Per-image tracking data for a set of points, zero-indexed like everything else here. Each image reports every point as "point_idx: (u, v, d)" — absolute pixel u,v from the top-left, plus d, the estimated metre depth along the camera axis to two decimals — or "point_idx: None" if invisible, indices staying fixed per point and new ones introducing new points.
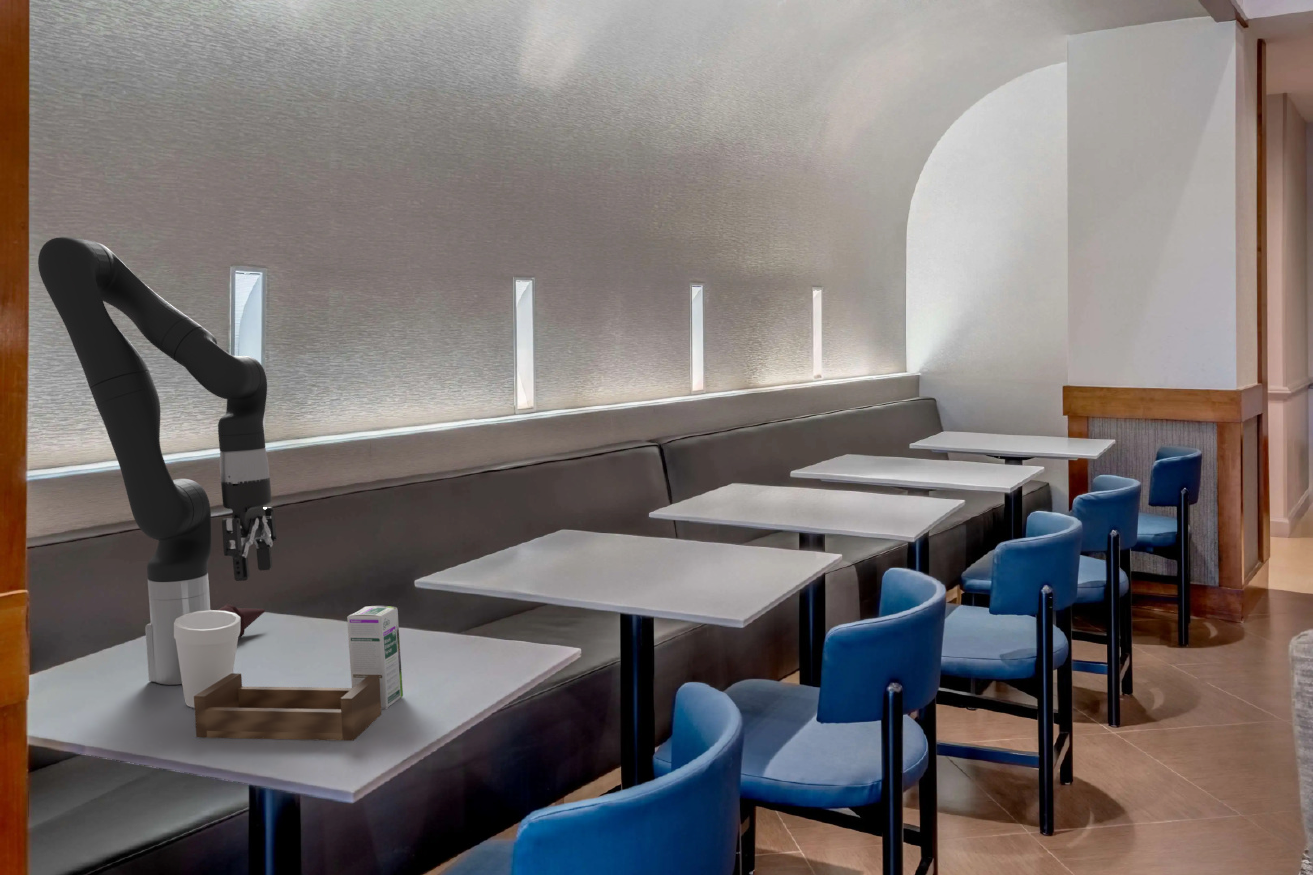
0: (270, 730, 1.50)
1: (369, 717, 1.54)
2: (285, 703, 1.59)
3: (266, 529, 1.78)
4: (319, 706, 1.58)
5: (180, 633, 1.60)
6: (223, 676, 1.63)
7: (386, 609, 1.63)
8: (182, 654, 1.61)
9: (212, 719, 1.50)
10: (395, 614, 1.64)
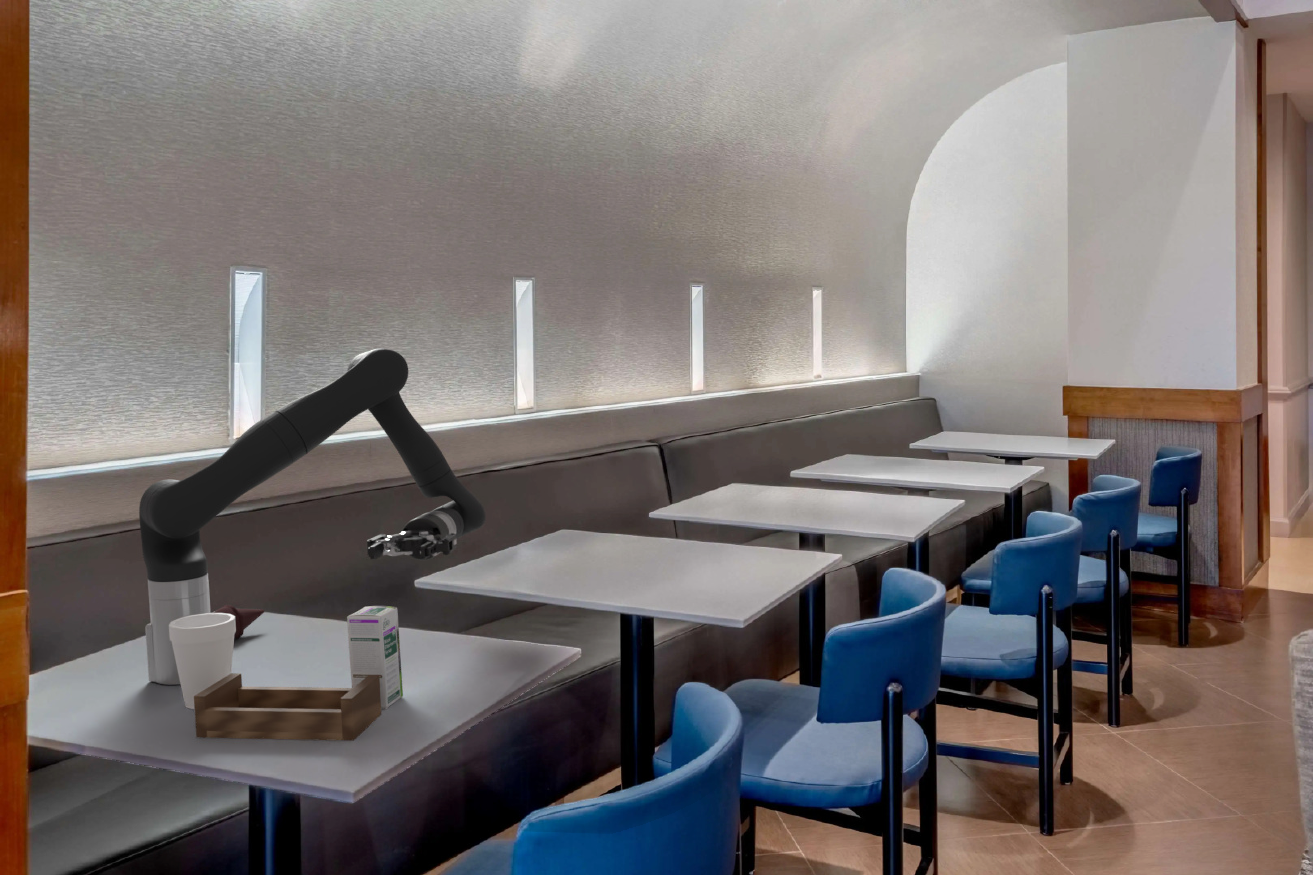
0: (270, 730, 1.50)
1: (369, 717, 1.54)
2: (285, 703, 1.59)
3: (399, 554, 1.81)
4: (319, 706, 1.58)
5: (175, 633, 1.61)
6: (221, 675, 1.64)
7: (386, 609, 1.63)
8: (179, 655, 1.62)
9: (212, 719, 1.50)
10: (395, 614, 1.64)
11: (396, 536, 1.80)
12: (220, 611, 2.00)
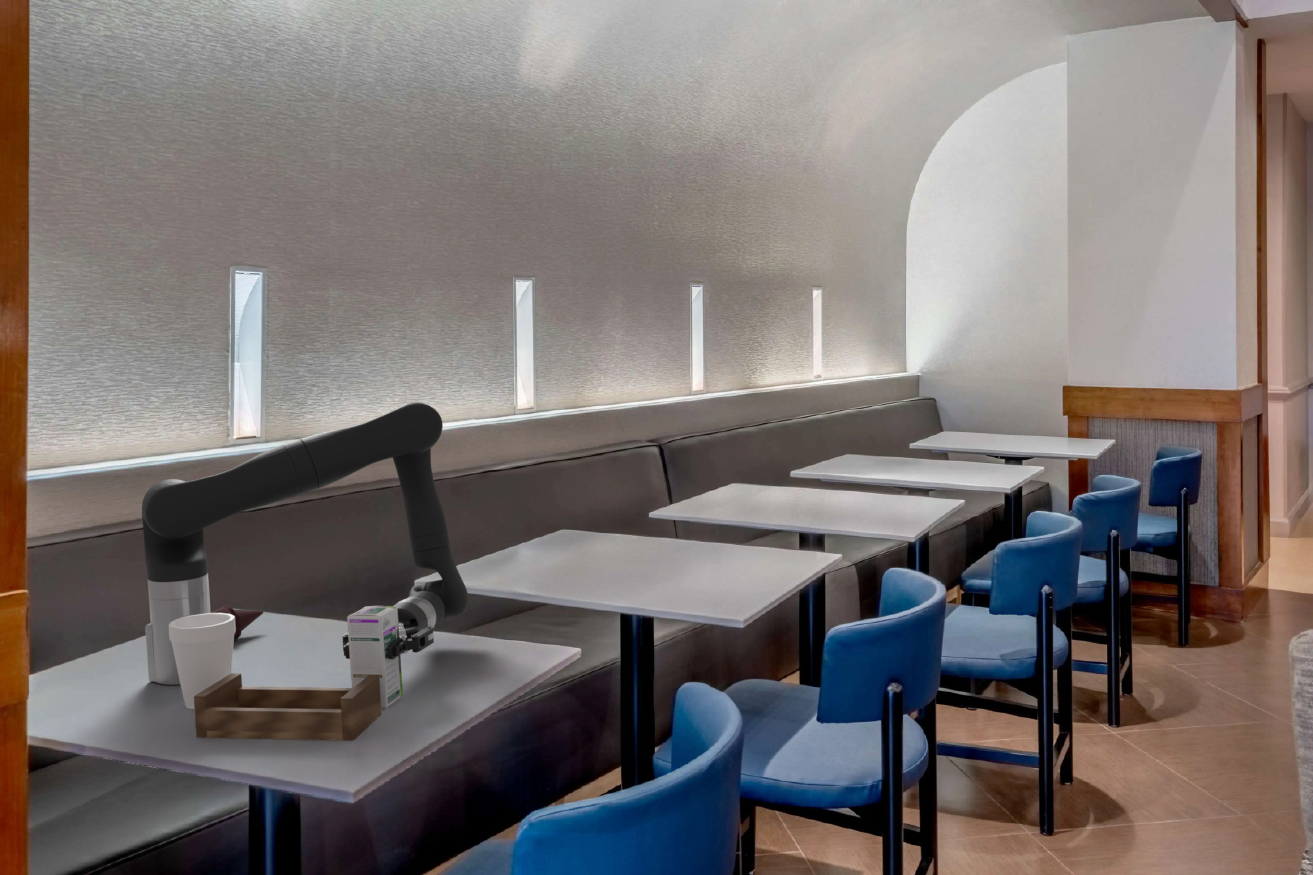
0: (270, 730, 1.50)
1: (369, 717, 1.54)
2: (285, 703, 1.59)
3: None
4: (319, 706, 1.58)
5: (174, 633, 1.61)
6: (221, 675, 1.64)
7: (386, 609, 1.63)
8: (178, 655, 1.62)
9: (212, 719, 1.50)
10: (395, 614, 1.64)
11: None
12: (218, 612, 1.99)
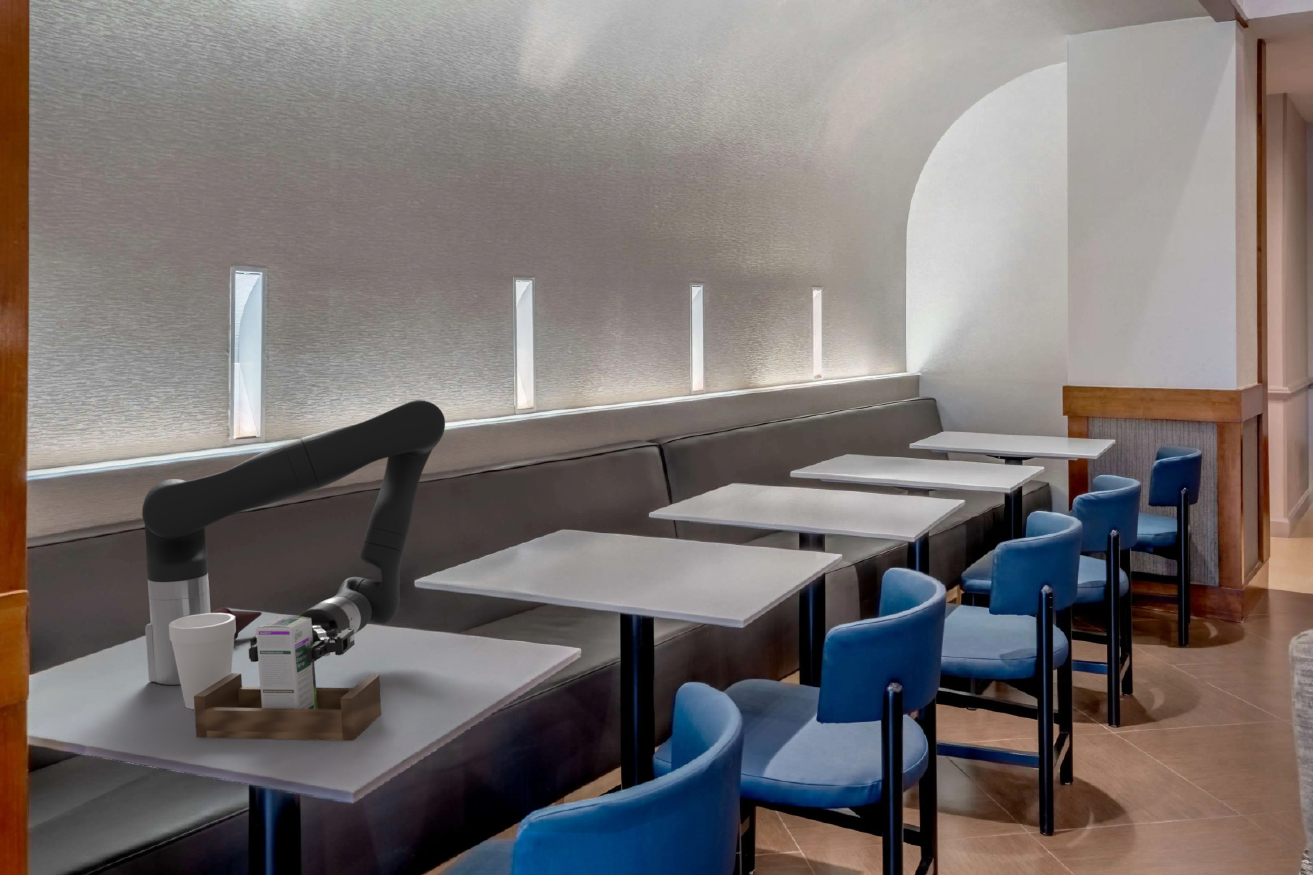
0: (270, 730, 1.50)
1: (369, 717, 1.54)
2: None
3: None
4: (319, 706, 1.58)
5: (175, 633, 1.61)
6: (221, 675, 1.64)
7: (298, 620, 1.54)
8: (179, 655, 1.62)
9: (212, 719, 1.50)
10: (308, 625, 1.55)
11: None
12: None
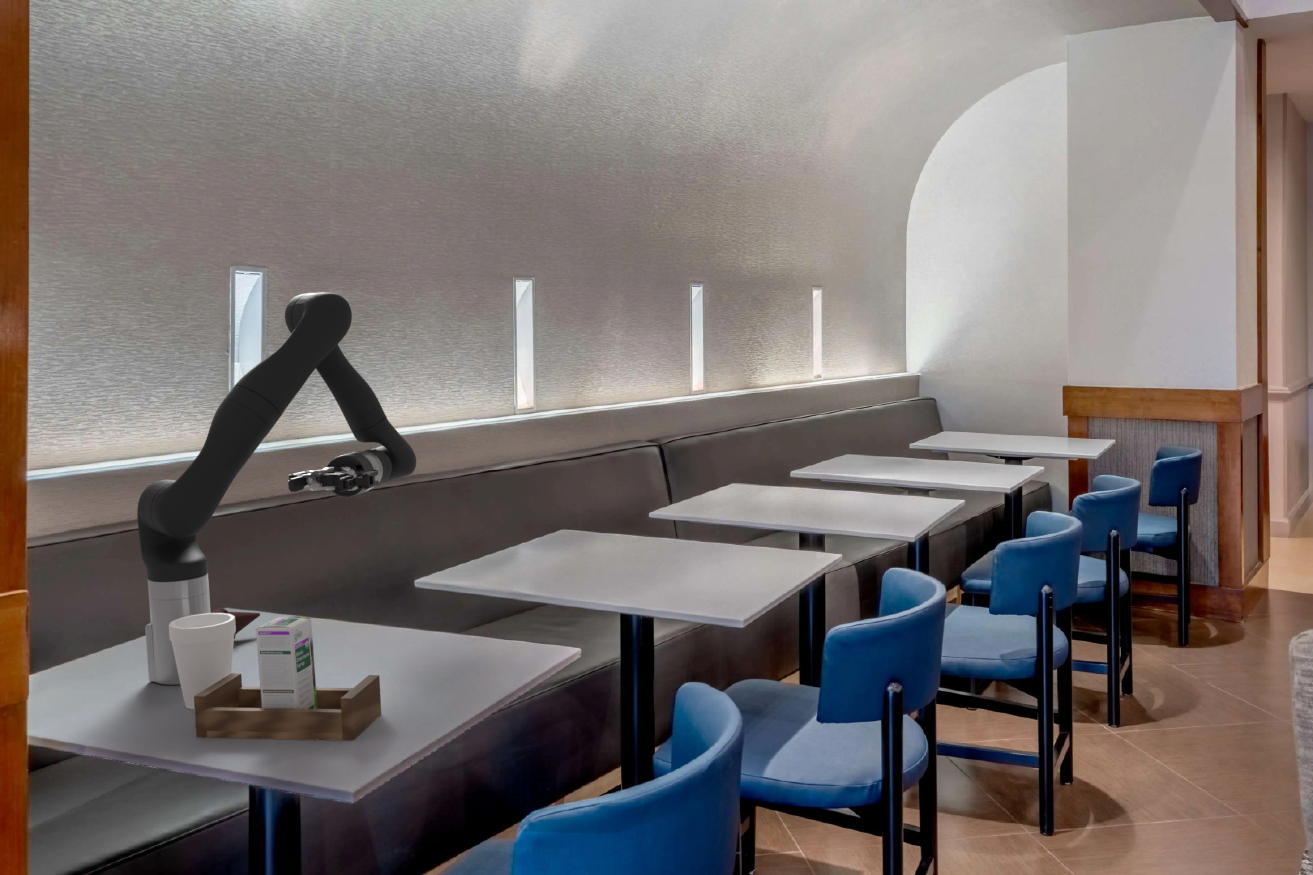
0: (270, 730, 1.50)
1: (369, 717, 1.54)
2: None
3: (321, 489, 1.83)
4: (319, 706, 1.58)
5: (175, 633, 1.61)
6: (221, 675, 1.64)
7: (298, 620, 1.54)
8: (179, 655, 1.62)
9: (212, 719, 1.50)
10: (308, 625, 1.55)
11: (318, 471, 1.82)
12: None
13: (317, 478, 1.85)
